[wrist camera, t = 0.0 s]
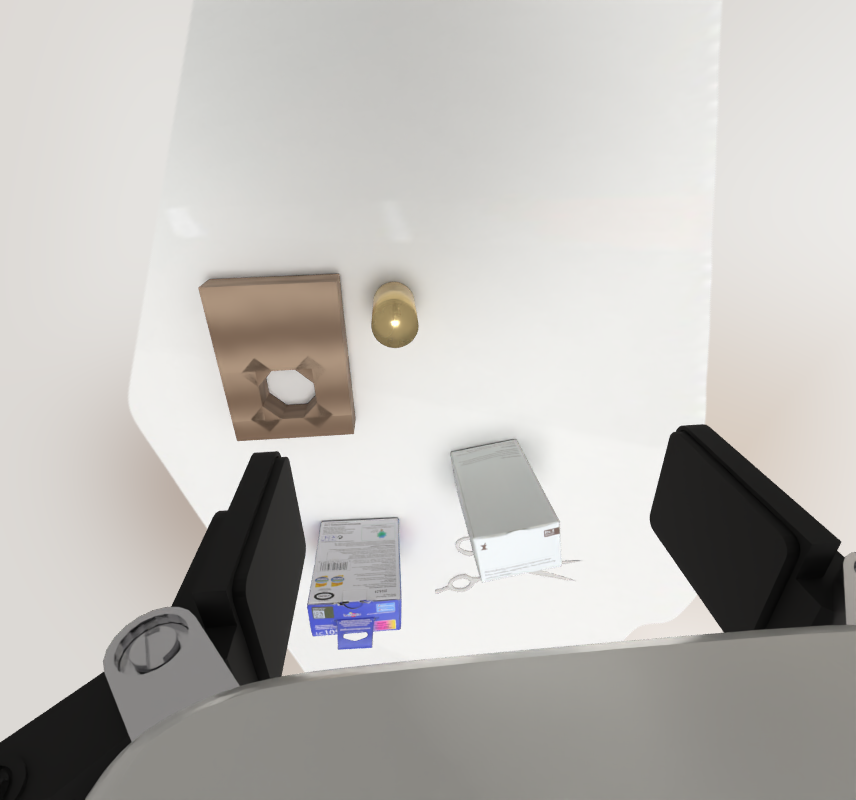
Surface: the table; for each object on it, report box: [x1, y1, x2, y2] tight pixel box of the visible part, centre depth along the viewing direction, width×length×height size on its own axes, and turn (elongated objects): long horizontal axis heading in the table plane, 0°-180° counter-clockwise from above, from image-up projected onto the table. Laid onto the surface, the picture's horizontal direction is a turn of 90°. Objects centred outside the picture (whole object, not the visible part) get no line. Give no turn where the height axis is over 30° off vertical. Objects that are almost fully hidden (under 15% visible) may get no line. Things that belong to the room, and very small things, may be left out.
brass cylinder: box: [371, 282, 418, 348], centre depth 44 cm, size 4×4×7 cm
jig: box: [199, 274, 355, 441], centre depth 47 cm, size 16×12×3 cm
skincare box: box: [451, 439, 562, 583], centre depth 50 cm, size 8×6×15 cm
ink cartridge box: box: [307, 518, 401, 650], centre depth 54 cm, size 10×6×14 cm, turn 90°
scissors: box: [435, 537, 578, 594], centre depth 66 cm, size 11×1×20 cm
